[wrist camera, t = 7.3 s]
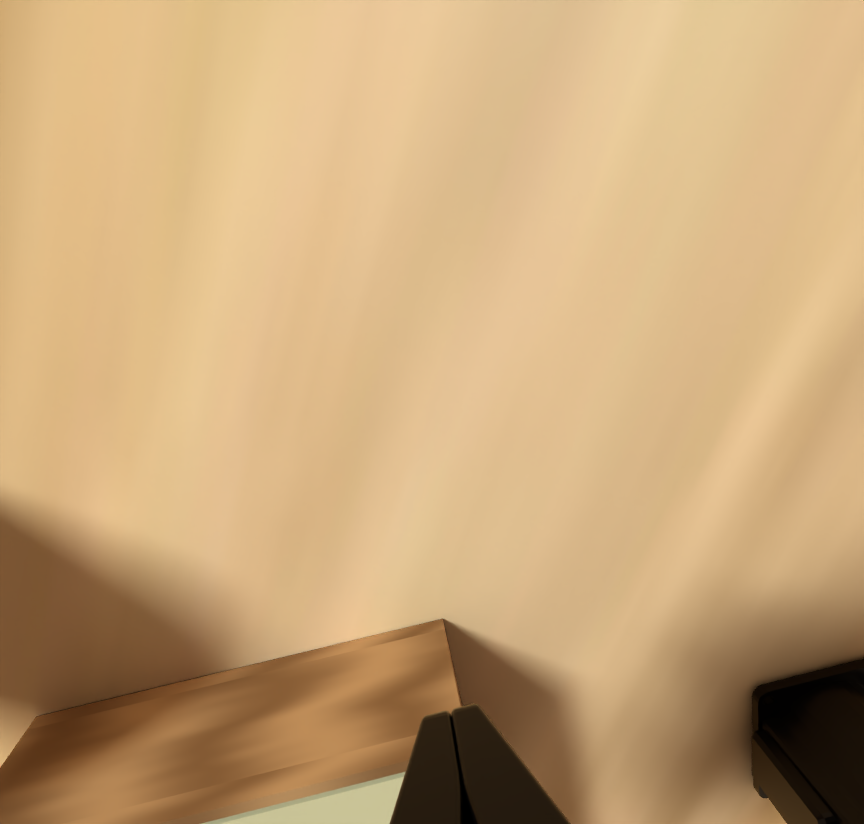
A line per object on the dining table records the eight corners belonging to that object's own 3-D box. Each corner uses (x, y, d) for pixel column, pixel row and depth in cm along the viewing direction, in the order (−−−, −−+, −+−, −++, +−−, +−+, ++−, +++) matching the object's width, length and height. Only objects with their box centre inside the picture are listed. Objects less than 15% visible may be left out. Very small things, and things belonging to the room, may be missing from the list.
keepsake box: (442, 618, 22) (468, 745, 16) (479, 783, 25) (512, 938, 19) (36, 716, 21) (-82, 884, 16) (121, 874, 24) (47, 1065, 18)
